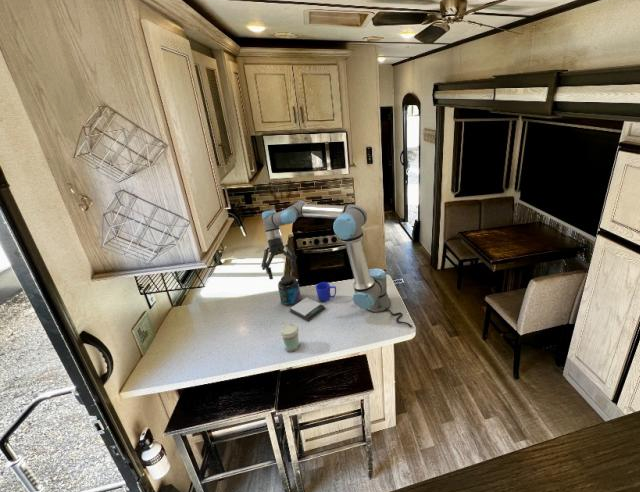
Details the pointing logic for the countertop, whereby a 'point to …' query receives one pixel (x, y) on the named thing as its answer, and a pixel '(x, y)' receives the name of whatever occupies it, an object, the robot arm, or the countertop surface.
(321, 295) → the mug
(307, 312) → the scale
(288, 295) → the container
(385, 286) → the robot arm
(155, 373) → the countertop surface
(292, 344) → the coffee cup
